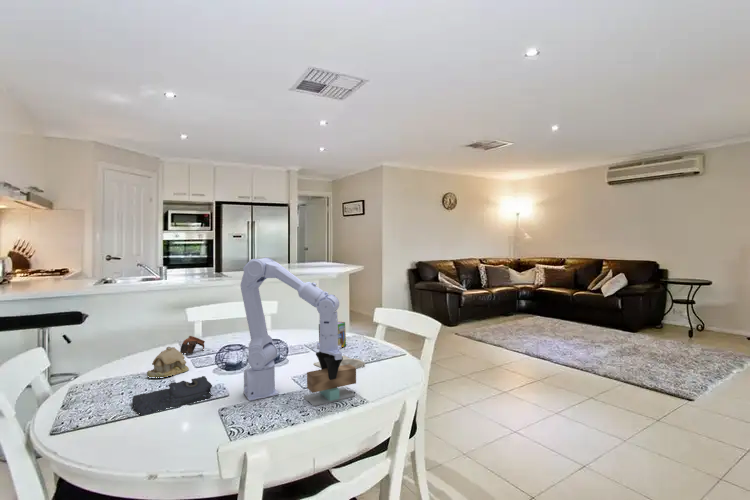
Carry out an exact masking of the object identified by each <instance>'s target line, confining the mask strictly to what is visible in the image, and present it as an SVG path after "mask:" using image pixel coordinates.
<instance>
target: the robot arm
mask: <svg viewBox="0 0 750 500" xmlns="http://www.w3.org/2000/svg"><path fill="white" fill-rule="evenodd" d="M242 270H243V274H242V278H241V282H240V292H241V296H242V301H243V305H244V306H243V307H244V312H245V314H246V319H247V320H246V322H247V325H248V331H249V335H250V341H249V345H248V346H247V347H248V348H247V349H248V355H247V362H248V365H249V366H250V367H248V368H246V369H244V371H243V394H244V396H245V397H246V398H247V400H248V401H255V400H261V399H264V398H265V399H266V398H269V397H273V396H279V394H280V392H278V390H277V389H276V387H275V386H276V384H275V383H276V382H275V381H276V379H275V377H276V375H275V372H276V371H275V370H276V369H275V368H276V367H275V365H276V364H275V359H276V357H277V356H278V349H277V348H278V347H277V346H276V345H275V344H274V342H273V341H274V340H273V338H272V337H271V336H270V335H269V333H268V328H267V323H266V319H265V313H264V308H263V304H262V303H263V302H262V297H261V294H260V287H261V285H262V284H263V283H264V281H265V280H267V279H278V280H279V281H280V282H282V283H284V284H286V285H287V286H289V287H291V288H292V289H294V290H296V291H297V294H298V297H299V298H300V299H302V300H304V301H305V302H306V303H308V304H309V305H311V306H312V307H313V308H316V311H317V313H318V314H319V324H320V343H319V342H317V343H316V348H317V350H319V351H317V352H315V356H316V358H317V360H318V362H320V366H321V368H320V370H321V369H326V368H327V369H328V376H329V379H330V380H333V379H336V377H337V372H338V368H339V366H340V363H341V361H342V360H343V357H342V356H343V352H341V350H342V348H341V346H339V345H338V321H339V319H338V309H339V307H340V301H339V299H338V297H336V296H335V295H334V294H332V293H331V294H329V292H328V291H324V290H323V289H322V288H320V287H318V286H317V283H316V282H314V281H313V282H311V281H307V282H304V281H303V280H302V279H300V278H299V277H297V275H294V274H293V273H292V272H290V271H289V270H288V269H287V268H286V267H284V266H283V265H281V264H280V263H279V262H277V261H275V260H274V259H272V258H271V257H266V256H265V257H262V258H252V259H250V260H248V262H247V263H246V264H245V265H244V266H243V268H242Z"/></svg>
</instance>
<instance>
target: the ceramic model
mask: <svg viewBox="0 0 750 500" xmlns="http://www.w3.org/2000/svg"><path fill="white" fill-rule="evenodd" d="M151 364H152V366H153V369H149V370H147V372H146V376H147V377H148V376H149V377H155V378H156V377H157V378H158V377H159V378H160V377H167V376H171V377H173V376H176V375H179V374H182V373H185V372H187V371H189V370H190V368H189V367H188V366H187V365H186V364H187V361H186V358H185V356H184V354H182V353H181V352H180V351H179V350H178V349H177V348H176V347H173V346H172V347H171V346H167V347H166V349H165V350H162V351H161V352H160V353H159V354H158V355H156V356H155V358H154V359H153V361H152V363H151ZM172 375H173V376H172Z"/></svg>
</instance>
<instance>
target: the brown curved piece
mask: <svg viewBox="0 0 750 500" xmlns="http://www.w3.org/2000/svg"><path fill="white" fill-rule="evenodd" d="M205 343H206V341H205V340H203V339H200V338H198V337H196V336H193V335H189V336H188V338H186V339H184V340H183V342H182V343H181V346H180V351H179V352H181V353H186V354H187V353H188V354H192V352H193V353H194V351H195V349H196V347H197V345H198V346H200V347H202V350H203V349H204V350H205Z"/></svg>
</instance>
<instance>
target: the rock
mask: <svg viewBox="0 0 750 500" xmlns="http://www.w3.org/2000/svg"><path fill="white" fill-rule="evenodd" d="M342 357H343V360H342V361H341V363H340V366H342V365H348V364H350V365H352V366H354V367H355V368H356V370H357V369H358V368H361V367H363V366H365V365H366V362H364V361H362V360H361V359H359V358H349V357H348V356H347V355H342ZM313 366H314V367H317V368H320V369H321V366H320V362H319V361H317V362H313Z"/></svg>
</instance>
